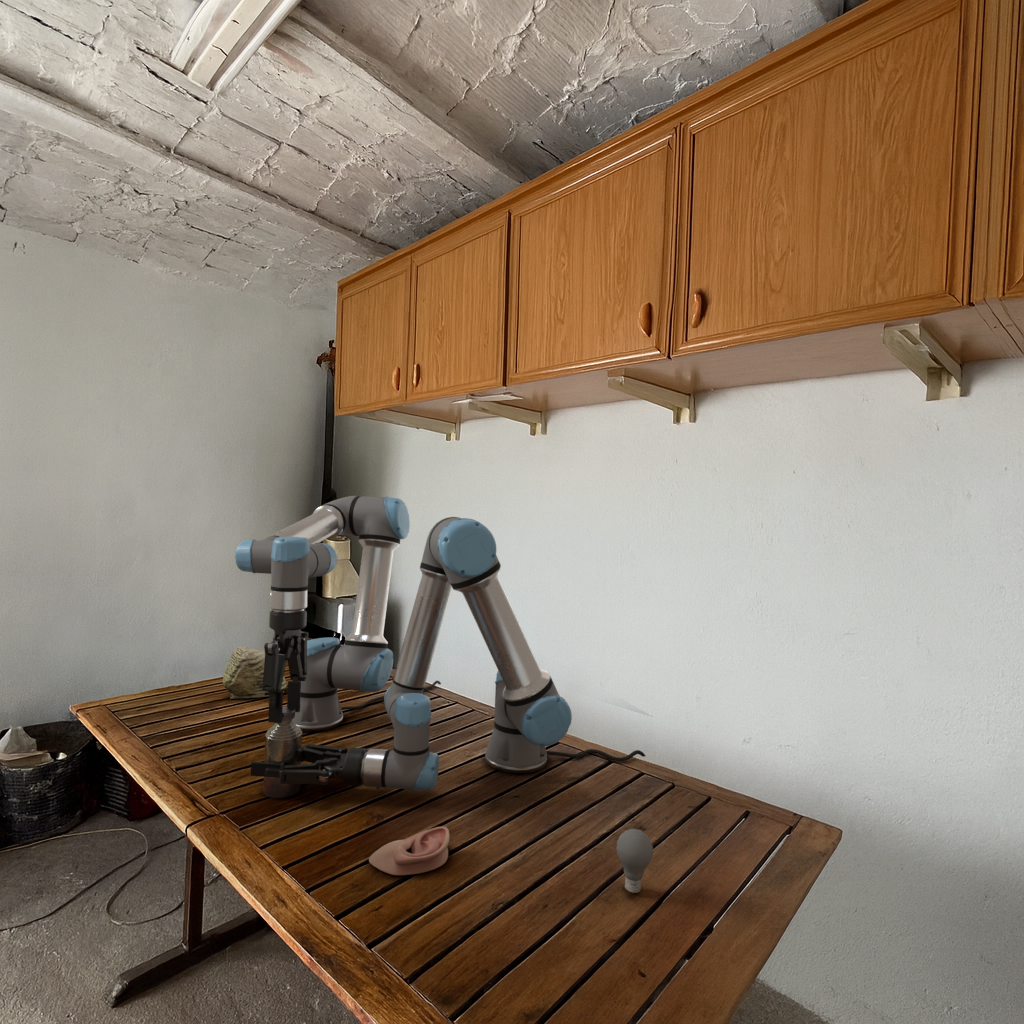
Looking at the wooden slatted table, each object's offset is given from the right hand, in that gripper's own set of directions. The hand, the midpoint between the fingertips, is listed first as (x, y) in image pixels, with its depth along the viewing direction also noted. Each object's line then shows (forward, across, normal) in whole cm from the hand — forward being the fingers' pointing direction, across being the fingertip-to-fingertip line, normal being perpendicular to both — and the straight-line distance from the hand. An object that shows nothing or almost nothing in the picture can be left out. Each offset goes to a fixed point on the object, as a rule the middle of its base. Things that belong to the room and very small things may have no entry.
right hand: (260, 760), depth 136 cm
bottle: (-5, 0, -6) cm, 8 cm away
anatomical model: (-37, -22, -6) cm, 44 cm away
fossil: (+29, +60, -6) cm, 67 cm away
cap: (-5, 0, +11) cm, 12 cm away
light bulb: (-76, -27, -6) cm, 81 cm away
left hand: (-5, 0, +10) cm, 11 cm away
